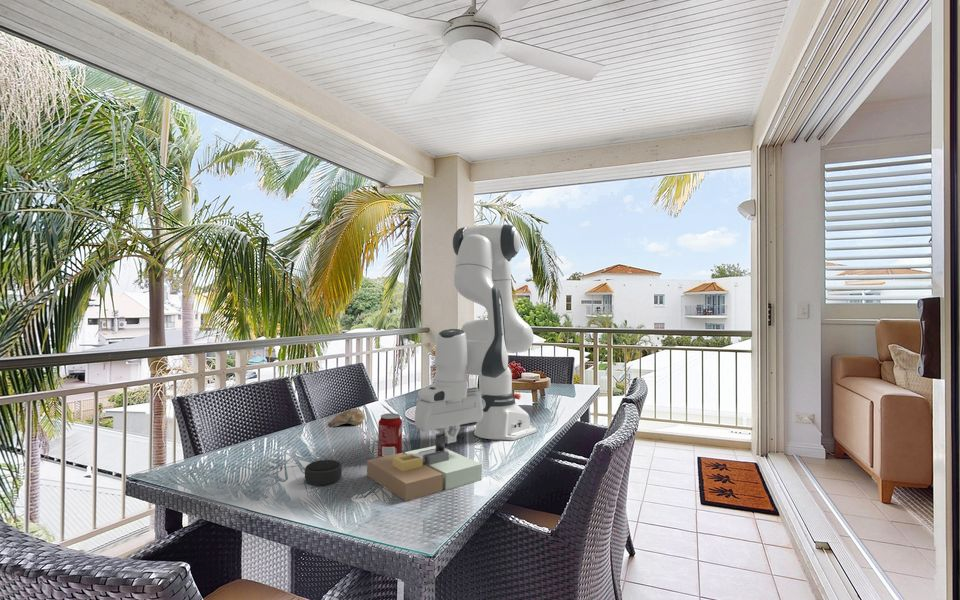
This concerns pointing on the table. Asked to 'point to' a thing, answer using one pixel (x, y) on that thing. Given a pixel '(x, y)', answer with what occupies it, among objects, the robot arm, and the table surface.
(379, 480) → the door and jamb
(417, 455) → the bolt
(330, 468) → the smart speaker
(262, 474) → the table surface
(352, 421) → the oyster shell
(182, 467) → the table surface
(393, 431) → the soda can
